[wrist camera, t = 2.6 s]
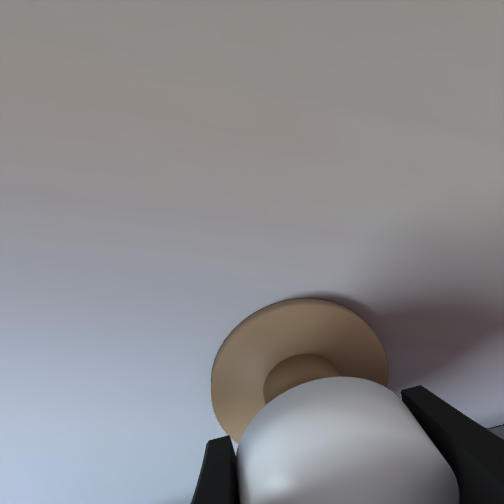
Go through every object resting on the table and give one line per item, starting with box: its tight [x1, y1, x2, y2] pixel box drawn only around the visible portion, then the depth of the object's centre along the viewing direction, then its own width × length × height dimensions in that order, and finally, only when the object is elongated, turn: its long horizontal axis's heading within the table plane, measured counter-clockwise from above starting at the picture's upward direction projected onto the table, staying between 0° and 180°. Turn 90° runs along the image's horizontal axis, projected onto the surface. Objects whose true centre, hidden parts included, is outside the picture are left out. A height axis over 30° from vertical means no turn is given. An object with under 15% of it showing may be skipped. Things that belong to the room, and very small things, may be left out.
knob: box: [236, 377, 459, 504], centre depth 10 cm, size 5×5×2 cm
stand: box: [211, 298, 388, 444], centre depth 12 cm, size 6×6×4 cm
